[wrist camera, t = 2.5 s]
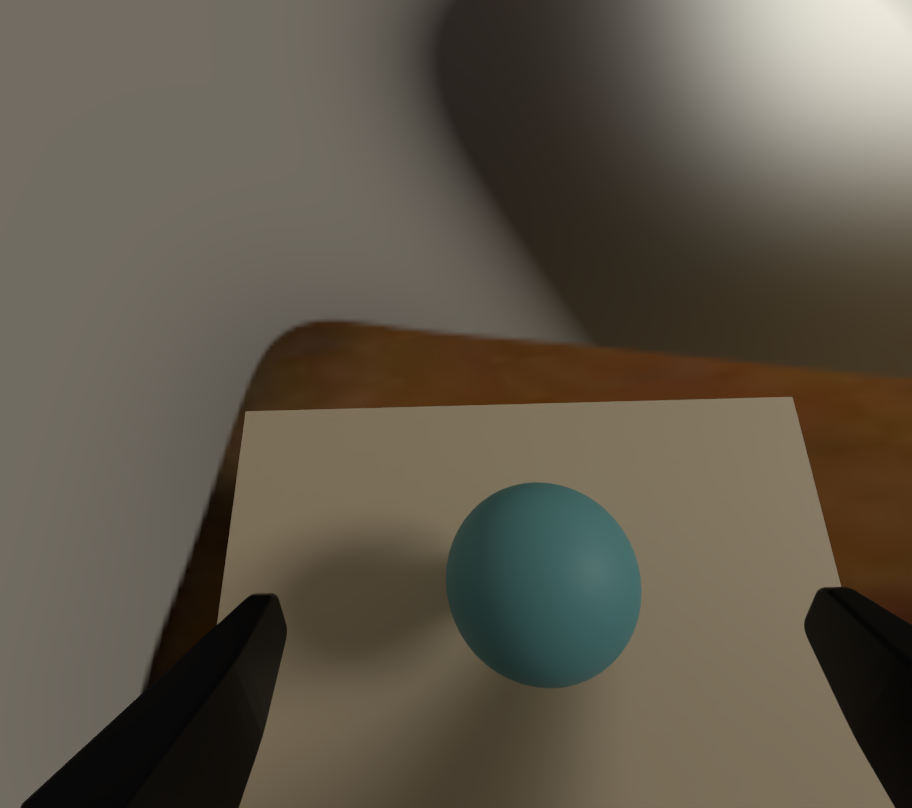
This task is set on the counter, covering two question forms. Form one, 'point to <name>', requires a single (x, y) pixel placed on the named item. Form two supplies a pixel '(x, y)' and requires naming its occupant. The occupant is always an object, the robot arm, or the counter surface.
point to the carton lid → (542, 608)
